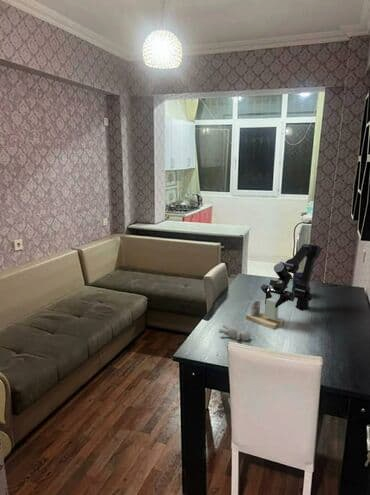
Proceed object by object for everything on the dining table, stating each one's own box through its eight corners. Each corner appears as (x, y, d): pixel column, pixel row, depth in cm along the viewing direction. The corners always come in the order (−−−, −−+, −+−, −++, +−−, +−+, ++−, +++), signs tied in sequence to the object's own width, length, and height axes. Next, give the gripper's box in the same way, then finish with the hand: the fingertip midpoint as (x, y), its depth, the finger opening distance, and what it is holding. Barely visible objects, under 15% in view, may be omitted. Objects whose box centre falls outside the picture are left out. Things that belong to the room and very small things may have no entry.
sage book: (268, 315, 198) (269, 297, 196) (277, 318, 194) (278, 300, 191) (264, 316, 196) (265, 299, 194) (274, 319, 192) (275, 302, 189)
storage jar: (308, 295, 240) (310, 273, 237) (304, 299, 232) (306, 277, 228) (293, 292, 245) (295, 271, 242) (289, 296, 237) (291, 275, 234)
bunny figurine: (247, 336, 171) (218, 327, 178) (245, 346, 173) (216, 336, 179) (252, 329, 180) (225, 320, 186) (251, 338, 181) (223, 329, 187)
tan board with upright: (256, 314, 208) (257, 297, 206) (283, 323, 195) (284, 306, 193) (245, 318, 201) (246, 302, 199) (273, 329, 189) (274, 311, 186)
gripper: (263, 270, 199) (250, 293, 194) (293, 277, 185) (280, 303, 181) (270, 280, 206) (258, 303, 201) (300, 288, 192) (287, 313, 188)
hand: (270, 305), depth 192 cm, fingers closed on sage book, 6 cm apart
